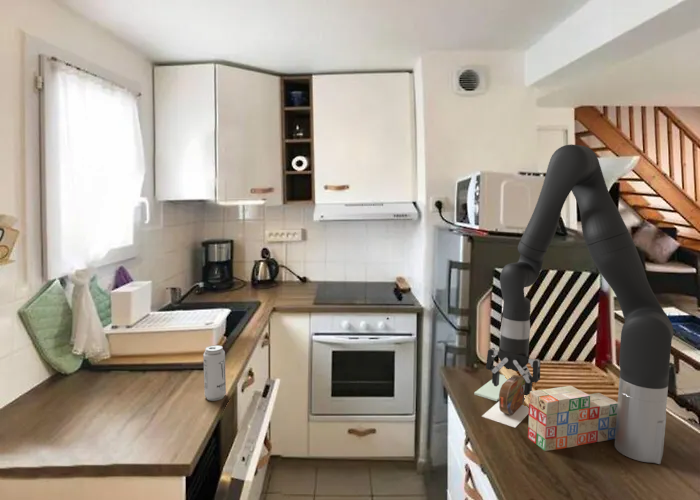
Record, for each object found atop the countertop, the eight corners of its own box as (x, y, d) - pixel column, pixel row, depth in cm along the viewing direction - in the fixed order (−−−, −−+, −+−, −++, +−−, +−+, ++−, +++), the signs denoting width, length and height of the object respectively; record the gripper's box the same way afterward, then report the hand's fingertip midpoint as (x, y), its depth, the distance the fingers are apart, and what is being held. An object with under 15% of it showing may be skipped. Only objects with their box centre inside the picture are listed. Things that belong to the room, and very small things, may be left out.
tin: (507, 419, 115) (509, 389, 114) (496, 416, 117) (497, 386, 116) (526, 400, 127) (528, 372, 126) (516, 397, 129) (517, 370, 128)
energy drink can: (222, 401, 125) (221, 351, 124) (201, 401, 125) (200, 351, 124) (228, 392, 131) (227, 344, 130) (208, 392, 131) (207, 344, 130)
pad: (519, 381, 141) (520, 379, 141) (496, 401, 126) (496, 399, 126) (498, 375, 145) (498, 373, 145) (474, 394, 131) (474, 392, 131)
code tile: (539, 404, 127) (540, 400, 127) (515, 431, 112) (515, 427, 112) (509, 395, 133) (509, 391, 133) (481, 419, 118) (481, 415, 117)
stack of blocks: (597, 426, 113) (600, 381, 111) (618, 439, 107) (621, 391, 105) (526, 437, 107) (529, 390, 106) (544, 452, 101) (547, 401, 100)
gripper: (546, 336, 118) (541, 393, 120) (495, 325, 127) (491, 378, 129) (537, 343, 112) (532, 402, 114) (484, 331, 121) (481, 386, 123)
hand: (511, 389), depth 122 cm, fingers open, 8 cm apart
